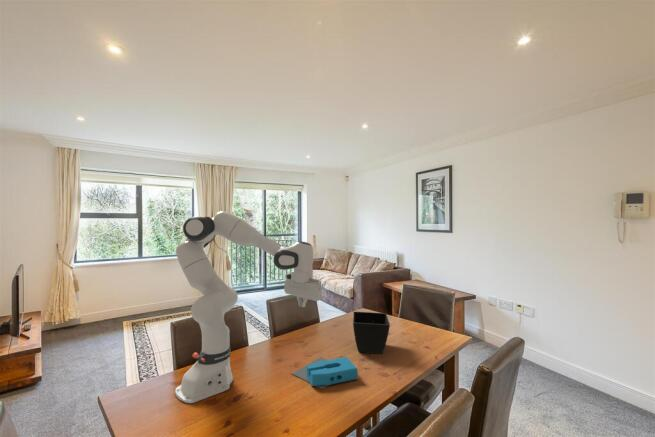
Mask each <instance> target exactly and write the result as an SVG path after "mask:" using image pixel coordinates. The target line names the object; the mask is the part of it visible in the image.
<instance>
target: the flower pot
mask: <svg viewBox="0 0 655 437" xmlns="http://www.w3.org/2000/svg"><path fill="white" fill-rule="evenodd" d="M352 315H353V317H352V325H353V334H354V339H355V344H356V348H357V351H358V353H363V354H364V353H365V354H380V355H382V354H383V353H384V350H385V347H386V344H387V341H388V336H389V332H390V325H391V324H390V321H389V318H388V315H387V313H385V312H370V311H369V312H366V311H353V314H352Z"/></svg>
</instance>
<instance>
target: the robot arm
mask: <svg viewBox="0 0 655 437" xmlns="http://www.w3.org/2000/svg"><path fill="white" fill-rule="evenodd" d="M182 233H183V234H184V236H185V238H186V239H185V240H184V241H182V242H180V243H179V244H178V245H177V247H176V248H175V253H176V257H177V260H178V263H179V266H180V268H181V271H182V273H183V274H184V276H185V277H186V280H187V281H188V284H189V285H190V287H192V289H195V290H198V291H199V292H200V293H201V294H202V296H200V297H198V299H197V300H196V301H194V302H193V304H192V306H191V309H190V314H191V317H192V319H193V320H194V321H195V322H197V324H198V325H199V328H200V330H201V350H200V353H198V352H197V351H196V352H193V353H192V358H194V359H197V360H196V362H195V363H194V364H193V365H192V366H190V368H189V369H188V370H187V371H186V372H185V373H184V374H183V376H182V379H181V384H180V385H178V386H177V387H175V390H174V394H175V397H176V398H177V399H179V400H180V401H181V402H183V403H186V404H194V403H197V402H199V401H202V400H205V399H208V398H209V397H212V396H215V395H217V394H221V393H223V392H225V391H227V390H229V389H230V387H231V384H232V382H233V380H234V376H233V374H232V369H231V359H230V358H231V345H230V331H231V330H230V327H228V325H226V322H225V314H226V313H228V312H229V311H230V310H232V309H233V308H234V306H235V305H236V304H237V302H238V298H239V297H238V293H237V291H236V290H235V288H233V287H231V286H229V285H228V284H226V282H224V280H223V279H222V278H221V277H220V275H219V274H217V272H216V270H215V269H214V267H213V265H212V263H211V261H210V259H209V257H208V255H207V254H206V252H205V250H204V249H205V248H206V247H207V246H208V245H210V243H211V242H212V241H214V240H215V239H216V236H221V237H223V238H225V239H226V240H228V241H230V242H231V243H234V244H236V245H238V246H240V247H252V248H253V247H254V248H258V249H260V250H262V251H264V252H265V253H268V254H269V255H271V256H273V259H272V260H273V263H274V266H275V268H277V269H279V270H281V271H282V270H283V271H285V270H286V271H287V270H292V269H293V272H290V273H286V274H285V276H284V277H285V280H284V288H283V289H284V290H283V291H284V292H285V294H287V295H290V296H294V297H296V300H297V302H298V307H301V308H306V306H307V305H306V304H307V302H308V300H310V301H314V302H318V301H320V300H322V296H323V292H322V291H323V290H322V282H321V281H320V280H319V279H317V278H316V279H315V278H314V276H313V275H314V269H313V263H314V246H313V245H312V244H311V243H309V242H307V241H301V240H299V241H296V242H295V243H293V244H291V245H286V244H285V245H283V244H280V243H278V242H276V241H274V240H272V239H271V238H268V236H266V235H264V234H262V233H261V232H260V231H259V230H257V228H255V227H254V226H253V225H252V224H251V223H248V222H247V221H245V220H244V219H243V218H241V217H239V216H237V215H235V214H233V213H230V212H228V211H225V210H221V211H218V212H216V214H214V215H213V217H210V216H203V215H202V216H199V215H198V216H197V215H196V216H195V215H194V216H192V217H188V219H186V220H185V221H184V223H183V227H182Z"/></svg>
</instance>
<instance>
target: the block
mask: <svg viewBox="0 0 655 437" xmlns="http://www.w3.org/2000/svg"><path fill="white" fill-rule="evenodd" d="M307 378H308V380H309V382H310V383H309V382H308V383H309V384H310V385H311V386H312V387H317V386H321V385H328V386H331V385H335V384H340V383H344V382H349V381H353V380H358V367H357V366H356V365H355V364H354V363H353V362H352V361H351V360H350V359H349V357H348V356H345V357H344V356H342V357H338V358H333V359H326V361H321V362H317V363H314V364H311V365H308V366H307Z"/></svg>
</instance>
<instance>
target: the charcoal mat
mask: <svg viewBox="0 0 655 437" xmlns="http://www.w3.org/2000/svg"><path fill="white" fill-rule="evenodd" d="M326 360H327V359H326V358H324V357H321V356H320V357H318V358H316V359H314V360H313V361H311V362H309V363H308V364H306V365H304V366H303V367H300V368H299V369H297V370H296V371H292V373H291V375H293V377H294V376H295V377H296V378H298V379H300V380H303V381H304V382H307V383H309V384H310V382H309V380H308V378H307V366H308V365H311V364H314V363H317V362H321V361H326ZM328 386H329V385H321V386H316V387H317V388H320V389H321V390H324V389H325V388H326V387H328Z"/></svg>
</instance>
